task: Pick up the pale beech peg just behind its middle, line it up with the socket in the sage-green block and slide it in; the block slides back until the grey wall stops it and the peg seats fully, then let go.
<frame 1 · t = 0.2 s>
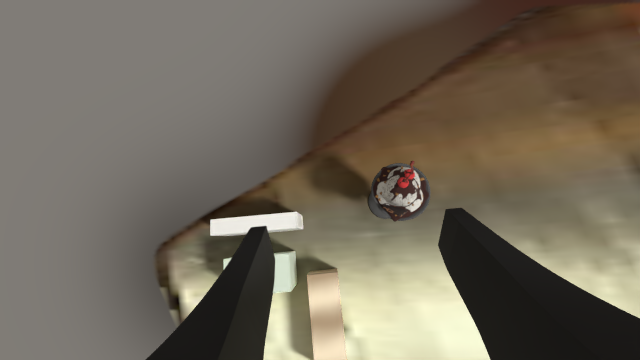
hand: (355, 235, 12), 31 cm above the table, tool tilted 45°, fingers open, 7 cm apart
peg: (327, 314, 40), on the table
block: (263, 271, 38), point 3 cm above the table, slide at 0.0 cm
sundae: (384, 201, 42), on the table
wall: (266, 225, 42), on the table
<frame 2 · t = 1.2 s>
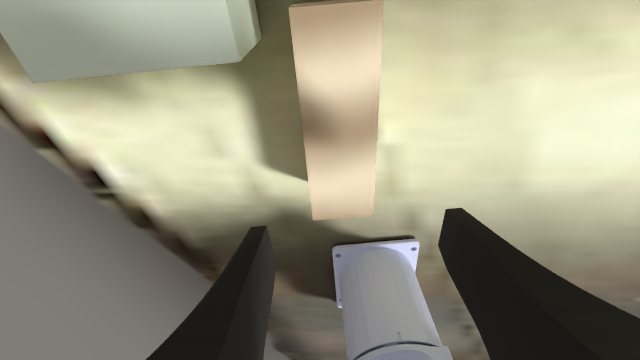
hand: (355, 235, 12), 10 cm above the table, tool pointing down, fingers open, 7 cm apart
peg: (333, 105, 19), on the table
block: (149, 1, 12), point 3 cm above the table, slide at 0.0 cm
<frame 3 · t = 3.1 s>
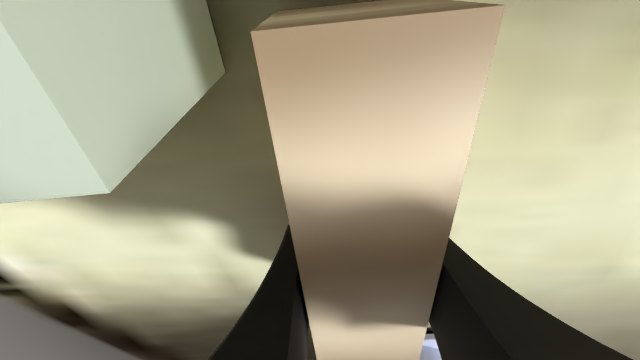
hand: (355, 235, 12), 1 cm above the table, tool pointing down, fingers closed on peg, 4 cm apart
peg: (349, 175, 12), on the table, touching gripper
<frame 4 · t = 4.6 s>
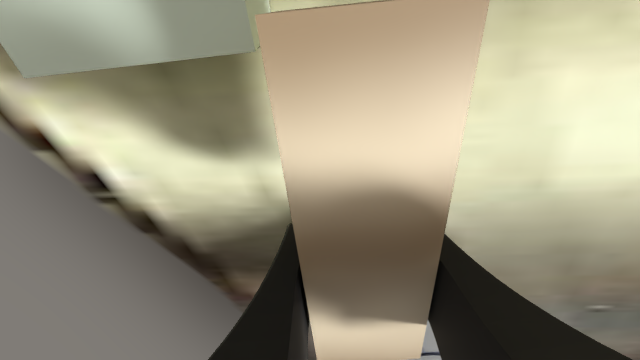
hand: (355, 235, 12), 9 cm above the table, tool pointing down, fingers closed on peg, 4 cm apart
peg: (349, 172, 12), point 7 cm above the table, touching gripper
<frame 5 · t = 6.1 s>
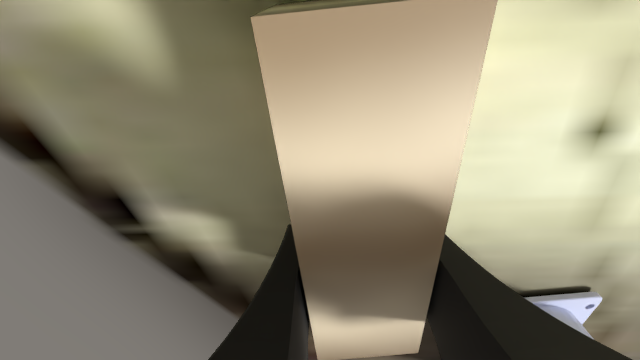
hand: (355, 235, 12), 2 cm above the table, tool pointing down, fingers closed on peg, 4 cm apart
peg: (349, 169, 12), on the table, touching gripper
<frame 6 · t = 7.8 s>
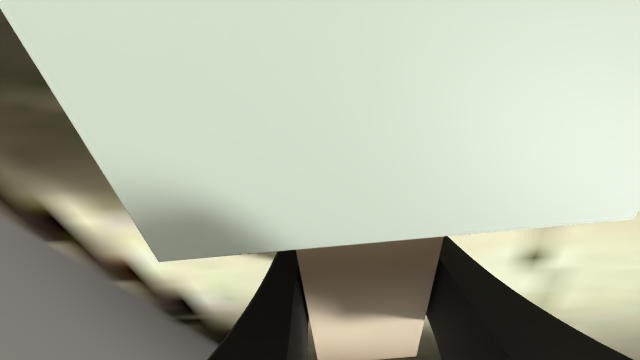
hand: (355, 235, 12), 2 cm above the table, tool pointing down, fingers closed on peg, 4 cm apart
peg: (349, 176, 12), on the table, touching block, gripper
block: (362, 62, 6), point 3 cm above the table, slide at 3.0 cm, touching peg, wall
when the fingers open (2 cm above the table, at t = 9.1 s): peg stays where it is, on the table.
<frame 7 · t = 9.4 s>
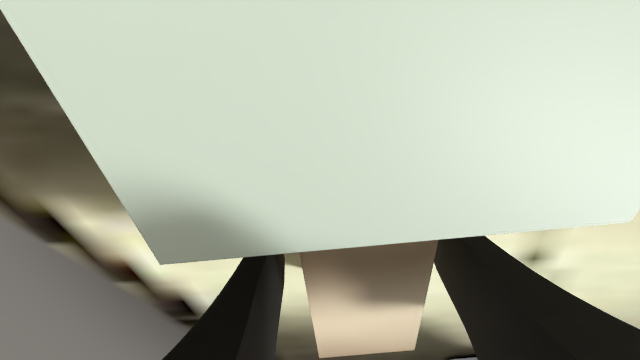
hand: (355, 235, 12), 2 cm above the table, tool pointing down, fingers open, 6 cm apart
peg: (349, 175, 12), on the table
block: (361, 66, 6), point 3 cm above the table, slide at 3.0 cm, touching wall
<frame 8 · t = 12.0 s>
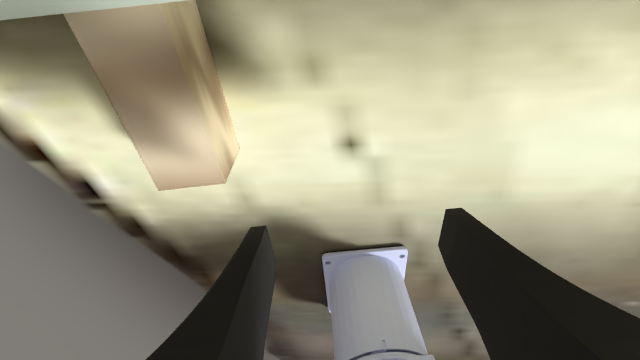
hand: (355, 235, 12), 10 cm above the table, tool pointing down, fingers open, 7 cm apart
peg: (181, 62, 17), on the table
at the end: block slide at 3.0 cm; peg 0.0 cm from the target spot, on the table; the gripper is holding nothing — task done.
